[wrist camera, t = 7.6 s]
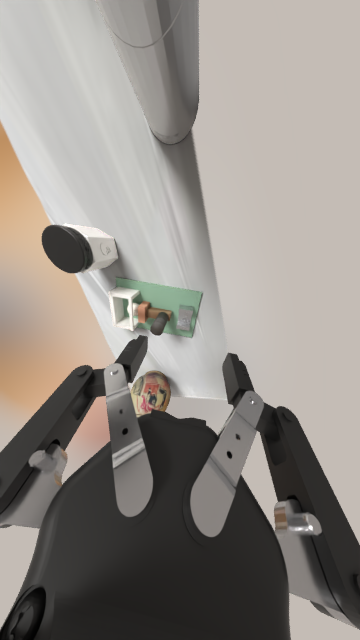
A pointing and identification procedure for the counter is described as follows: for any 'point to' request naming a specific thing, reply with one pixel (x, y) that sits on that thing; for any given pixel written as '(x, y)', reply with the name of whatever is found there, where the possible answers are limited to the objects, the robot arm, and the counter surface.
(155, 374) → the ceramic jug
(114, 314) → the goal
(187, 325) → the bracket
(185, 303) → the pitch mat
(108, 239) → the jar
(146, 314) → the wooden peg with knob
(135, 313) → the ball
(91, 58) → the counter surface
